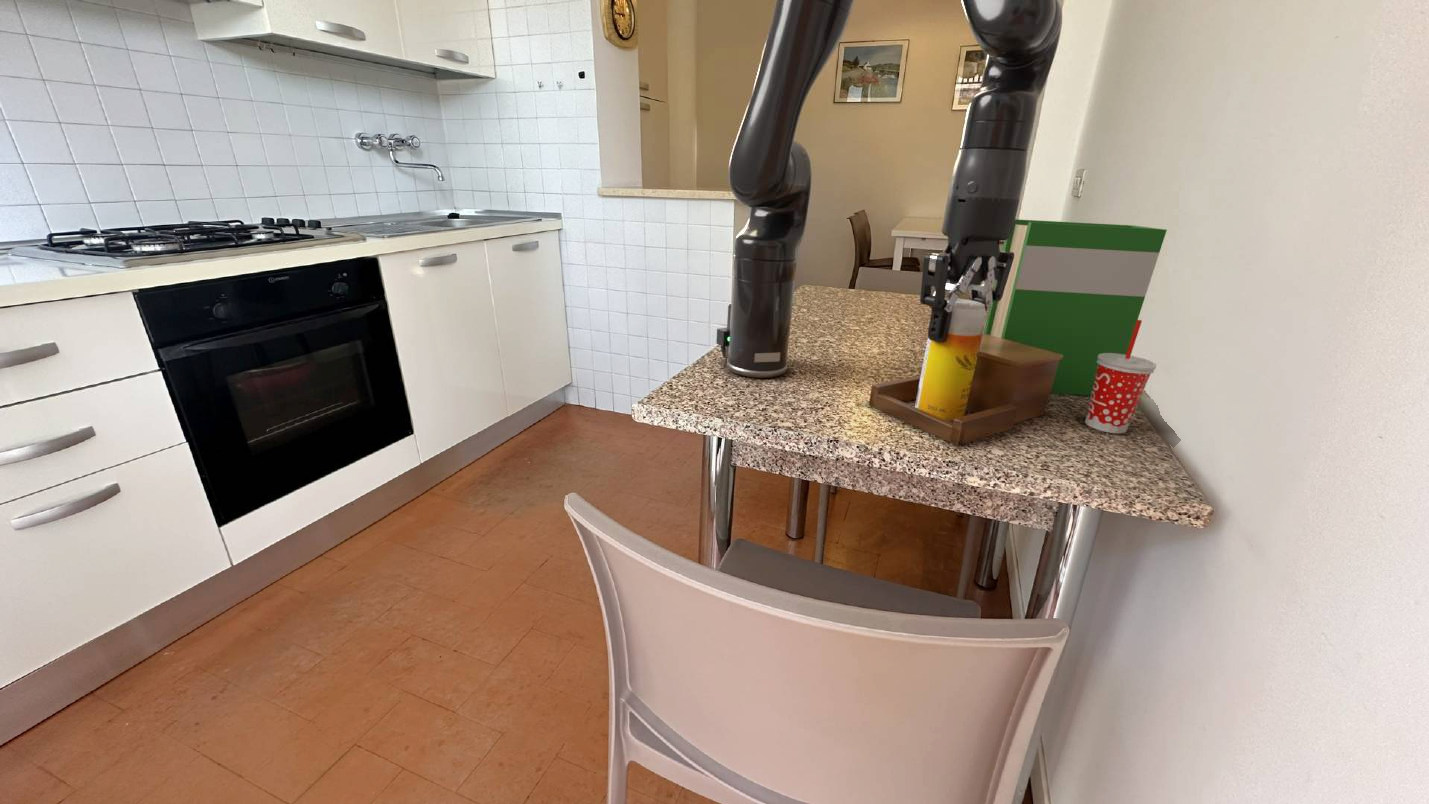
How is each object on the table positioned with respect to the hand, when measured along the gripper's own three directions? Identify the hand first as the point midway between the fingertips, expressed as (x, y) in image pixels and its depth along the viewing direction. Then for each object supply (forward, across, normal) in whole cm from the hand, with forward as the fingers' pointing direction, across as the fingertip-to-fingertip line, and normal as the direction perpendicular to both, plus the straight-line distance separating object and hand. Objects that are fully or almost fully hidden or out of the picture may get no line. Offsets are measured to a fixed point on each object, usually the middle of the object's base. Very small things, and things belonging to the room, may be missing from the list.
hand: (954, 337), depth 71 cm
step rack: (+11, -6, 0) cm, 12 cm away
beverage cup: (+11, -18, +12) cm, 24 cm away
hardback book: (+11, -26, -2) cm, 29 cm away
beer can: (+11, 0, 0) cm, 11 cm away
